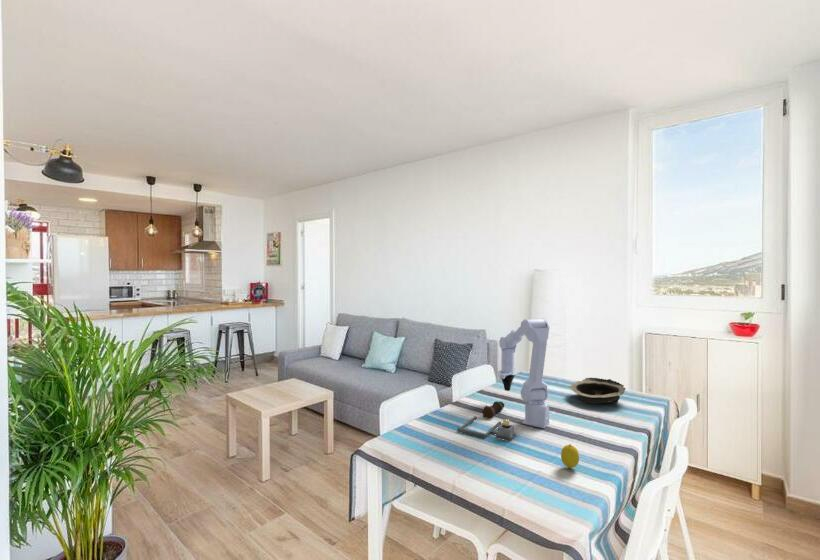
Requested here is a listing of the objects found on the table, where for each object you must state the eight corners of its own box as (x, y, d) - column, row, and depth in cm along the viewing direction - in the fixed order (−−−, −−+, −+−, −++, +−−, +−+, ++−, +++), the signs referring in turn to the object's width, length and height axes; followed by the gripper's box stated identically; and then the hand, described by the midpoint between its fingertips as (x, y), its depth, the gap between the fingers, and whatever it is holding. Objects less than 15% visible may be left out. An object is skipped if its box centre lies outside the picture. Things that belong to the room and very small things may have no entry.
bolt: (502, 412, 187) (489, 421, 175) (494, 405, 190) (480, 413, 178) (509, 403, 186) (495, 411, 173) (500, 396, 188) (486, 403, 176)
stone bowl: (627, 397, 202) (627, 379, 201) (622, 417, 181) (623, 397, 180) (574, 389, 215) (575, 372, 214) (564, 406, 194) (565, 388, 193)
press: (522, 429, 164) (522, 418, 164) (508, 444, 150) (508, 433, 149) (474, 418, 175) (475, 408, 175) (457, 431, 161) (457, 421, 161)
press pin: (510, 426, 156) (510, 419, 156) (508, 428, 154) (508, 421, 154) (504, 425, 158) (504, 418, 158) (502, 427, 156) (502, 420, 156)
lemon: (557, 464, 135) (558, 441, 134) (573, 464, 135) (574, 440, 135) (565, 473, 129) (566, 448, 129) (582, 472, 130) (582, 448, 129)
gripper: (504, 358, 200) (504, 385, 200) (493, 364, 188) (493, 392, 188) (518, 359, 196) (518, 387, 196) (508, 366, 184) (508, 395, 184)
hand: (507, 390), depth 192 cm, fingers closed
